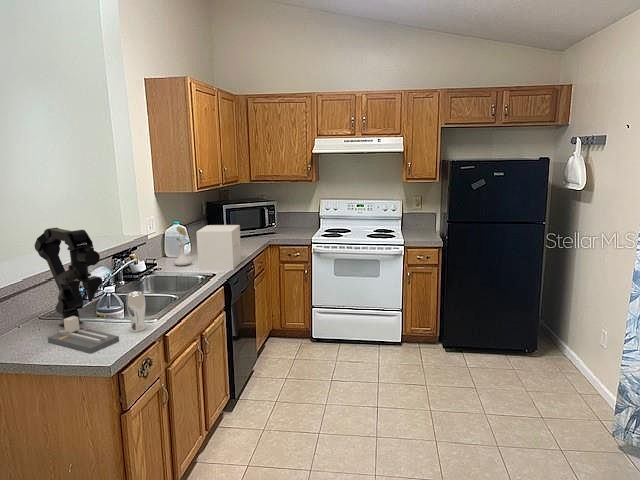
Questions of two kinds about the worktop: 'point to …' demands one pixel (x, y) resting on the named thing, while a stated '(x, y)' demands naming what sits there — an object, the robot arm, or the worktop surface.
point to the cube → (219, 247)
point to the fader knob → (71, 324)
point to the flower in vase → (182, 250)
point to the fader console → (84, 340)
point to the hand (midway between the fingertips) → (83, 299)
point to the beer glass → (136, 310)
